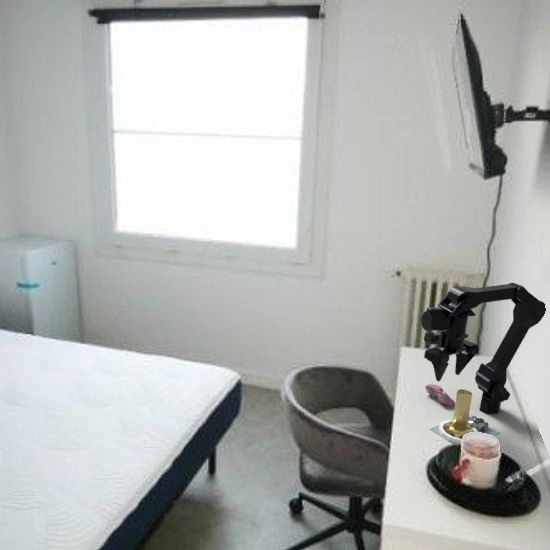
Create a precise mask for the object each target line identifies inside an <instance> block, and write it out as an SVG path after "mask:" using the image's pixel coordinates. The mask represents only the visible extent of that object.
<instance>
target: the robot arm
mask: <svg viewBox="0 0 550 550" xmlns="http://www.w3.org/2000/svg"><path fill="white" fill-rule="evenodd" d="M508 300H511V302H512V303H513V304H514V307H513V310H512V319H513V320H512V323H511V324H510V326H509V328H508V330H507V331H506V333H505V335H504V337H503V339H502V341H501V342H500V344H499V346H498V348H497V349H496V351H495V354H493V357H492V358H491V360H490V361H489V362H487V363H483V362H481V364H479V366H478V369H477V371H476V372H475V375H474V376H475V377H474V381H475V383H476V385H477V389H479V390H480V391H482V394H481V400H480V403H479V404H480V405H479V412H482V413H484V414H485V415H497V414H499V413H500V411H501V406H502V403H503V402H505V401H508V400H509V398H510V396H511V393H510V392H509V391H508V389H507V388H506V387H505V386H506V383H507V380H508V374H507V373H508V372H507V370H508V367H509V365H510V364H511V362H512V361H513V359H514V357H515V355H516V353H517V352H518V349H519V348H520V346H521V344H522V342H523V341H524V340H525V337H526V335H527V333H528V332H529V330H530V329H531V328H533V327H535V326H536V325H537V324H539V323H540V322H541V321H542V319H543V318H544V316H545V315H546V314H545V311H546V308H547V307H546V308H545V305H546V303H545V302H544V301H541V300H539V298H537V297H536V296H534V295H533V294H532V293H530V292H529V291H528V289H526V288H525V286H523V285H521V284H518V283H516V282H510V283H507V284H505V283H504V284H497V285H491V286H483V287H482V286H481V287H470V286H463V285H462V286H461V285H454V286H452V287H450V289H449V291H448V292H447V294H446V295H445V296H444V297H443V298H442V299H441V301H440V302H439V303H438V304H437V307H432V306H428V307H426V310H424V312H423V313H422V315H421V317H420V321H421V326H422V328H423V330H424V331H425V333H424V338H423V340H424V342H425V344H427V345H428V346H431V345H437V347H432V348H428V349H426V350H424V354H423V357H424V359H426V360H427V361H429V362H430V363H431V364H432V367H433V372H434V376H435V380H436V381H437V382H441V380H442V379H443V376H444V374H445V373H446V370H447V369H448V366H449V361H450V357H451V356H454V355H455V369H454V372H455V375H457V376H460V374H461V373H462V372H463V370H465V368H466V366H467V365H468V364H469V363H470V362H471V361H472V360H473V358H475V356H476V355H478V354H479V349H480V347H479V346H478V345H477V343H474V342H472V341H469V340H467V339H468V338H469V334H468V333H466V332H467V325H468V321H469V320H468V319H469V317H476V312H474V311H473V309H476V308H477V307H479V306H480V305H481V304H484V303H485V304H486V303H491V302H493V303H494V302H501V301H508ZM546 312H547V311H546ZM544 314H545V315H544ZM434 331H440V332H434Z"/></svg>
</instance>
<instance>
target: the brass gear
mask: <svg viewBox="0 0 550 550" xmlns="http://www.w3.org/2000/svg"><path fill="white" fill-rule="evenodd" d="M472 397H473V393H472V392H471V391H470V390H467V389H461V388H460V389H458V390H457V391H456V396H455V405H454V410H453V418H452V419H453V421H450V423H449V424H448V423H447V424H446V430H445V431H447V433H448V434H449V435H451V436H453V437H456V438H460V439H462V437H463V435H464V434H466V433H469V432H473V430H471V427H470V426H469V425H468V418H469V417H470V413H471V412H470V411H471V405H472Z"/></svg>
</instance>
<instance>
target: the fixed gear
mask: <svg viewBox="0 0 550 550" xmlns="http://www.w3.org/2000/svg"><path fill="white" fill-rule="evenodd" d="M468 425H469V426H470V427H471V429H472V428H475V429H476V430H477V431H478V432H480V431H483V432H486V431H487V429H488V427H489V423H488V421H487V422H485V419H484V418H479V417H477V415H476V416H475V415H471V416H469V418H468Z"/></svg>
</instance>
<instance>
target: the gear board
mask: <svg viewBox="0 0 550 550" xmlns="http://www.w3.org/2000/svg"><path fill="white" fill-rule="evenodd" d="M450 421H453V418H452V419H447V420H446V419H445V420H444V421H441V422H440V423H439V425H435V426H433V427H431V428H429V430H430V431H431V432H433V433H434V434H435V435H438V436H439V437H441V438H443V439H445V440H446V441H447V442H450V443H451V444H453V445H455V446H456V445H457V444H458V445H459V444H460V443H461V441H462V439H460V438H456V437H453V436H451V435H449V434H448V433H447V431H445V430H446V424H447V423H448V424H449V423H450ZM471 430H473V432H478V431H477V430H476V429H475V428H472V429H471ZM480 432H482V433H487V434H491V435H494V437H496V436H498V435H500V434H501V432H499V431H497V430H495V429H493V428H492V427H490V426H488V429H487V431H486V432H483V431H480Z"/></svg>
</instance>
